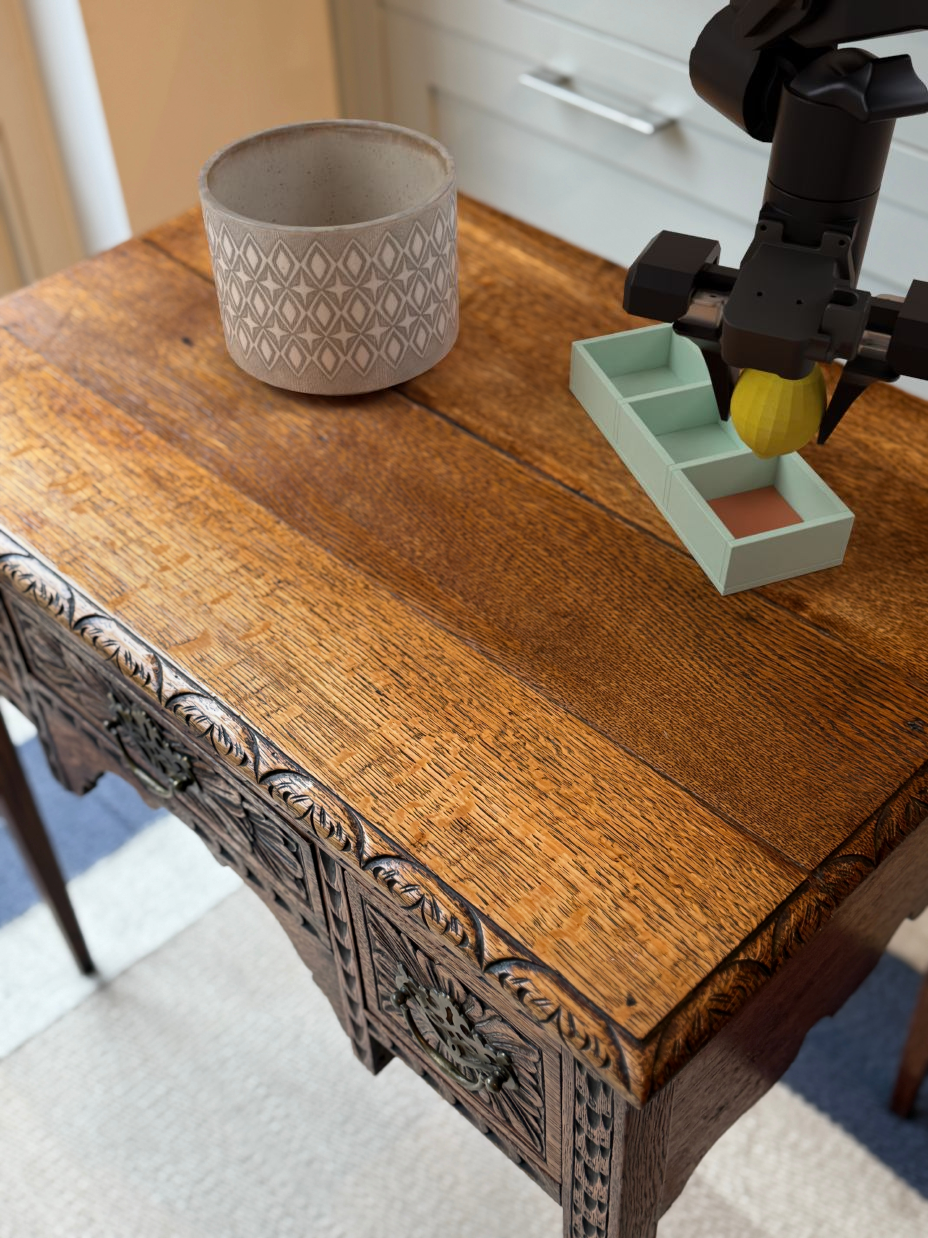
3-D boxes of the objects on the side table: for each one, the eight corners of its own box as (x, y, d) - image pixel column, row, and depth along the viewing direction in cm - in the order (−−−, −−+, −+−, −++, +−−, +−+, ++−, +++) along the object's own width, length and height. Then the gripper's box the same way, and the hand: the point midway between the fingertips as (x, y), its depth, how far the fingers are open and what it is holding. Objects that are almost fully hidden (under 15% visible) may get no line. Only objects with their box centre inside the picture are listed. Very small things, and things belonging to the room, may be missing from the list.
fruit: (815, 488, 71) (843, 373, 65) (721, 479, 71) (741, 364, 66) (811, 434, 74) (837, 321, 69) (722, 426, 75) (741, 314, 70)
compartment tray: (841, 564, 76) (855, 515, 73) (722, 596, 74) (731, 547, 71) (670, 366, 92) (676, 320, 90) (568, 388, 90) (571, 341, 88)
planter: (446, 278, 103) (442, 111, 92) (472, 400, 89) (471, 220, 79) (230, 294, 101) (202, 125, 91) (225, 420, 88) (191, 239, 78)
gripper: (596, 209, 58) (579, 464, 69) (990, 286, 52) (903, 551, 63) (669, 126, 65) (643, 369, 76) (1022, 185, 60) (940, 439, 70)
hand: (772, 429), depth 71 cm, fingers closed on fruit, 5 cm apart
